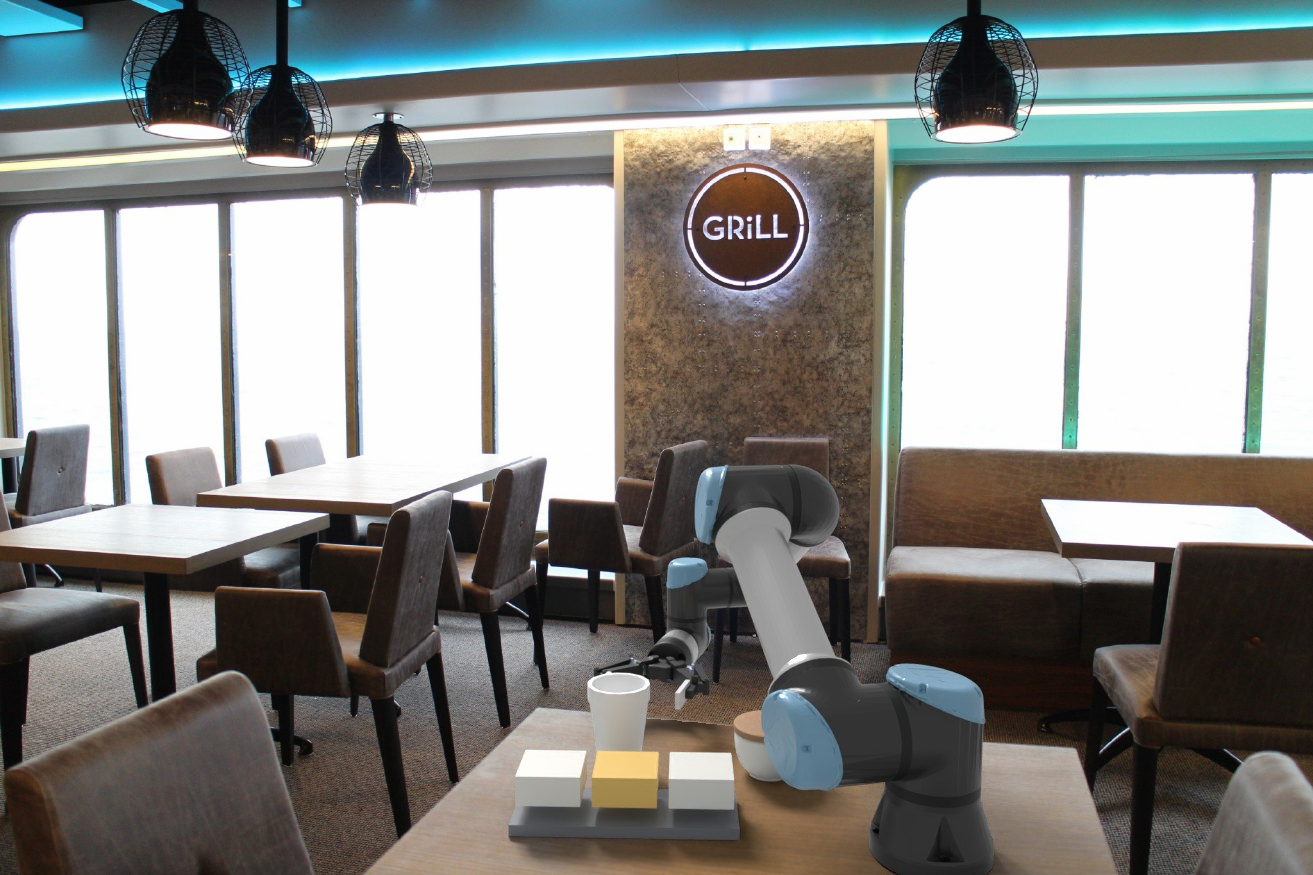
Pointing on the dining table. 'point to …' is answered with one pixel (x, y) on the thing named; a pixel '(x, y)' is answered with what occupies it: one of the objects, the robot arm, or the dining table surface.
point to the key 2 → (701, 781)
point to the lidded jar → (753, 747)
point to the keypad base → (626, 821)
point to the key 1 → (551, 778)
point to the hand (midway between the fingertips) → (636, 696)
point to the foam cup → (618, 710)
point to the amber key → (625, 779)
